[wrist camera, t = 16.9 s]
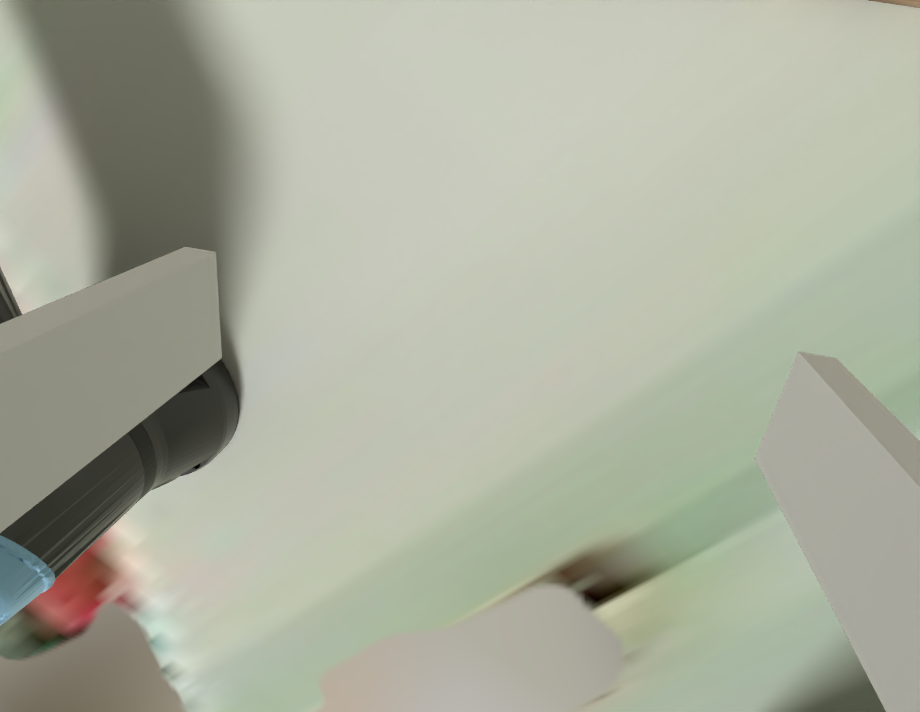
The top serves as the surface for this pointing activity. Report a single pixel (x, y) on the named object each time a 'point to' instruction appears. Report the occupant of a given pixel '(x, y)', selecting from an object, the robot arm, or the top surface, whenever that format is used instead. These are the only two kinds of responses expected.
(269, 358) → the top surface
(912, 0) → the rail
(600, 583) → the top surface
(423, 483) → the top surface
